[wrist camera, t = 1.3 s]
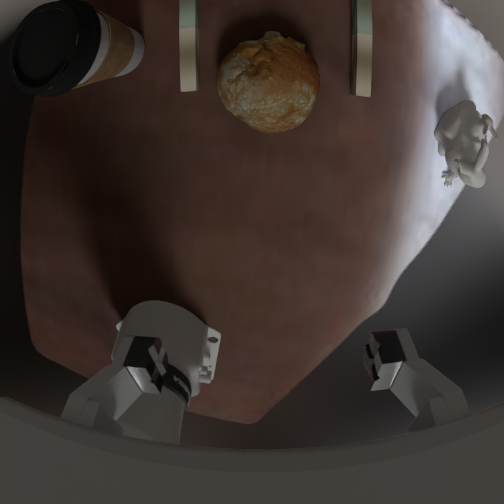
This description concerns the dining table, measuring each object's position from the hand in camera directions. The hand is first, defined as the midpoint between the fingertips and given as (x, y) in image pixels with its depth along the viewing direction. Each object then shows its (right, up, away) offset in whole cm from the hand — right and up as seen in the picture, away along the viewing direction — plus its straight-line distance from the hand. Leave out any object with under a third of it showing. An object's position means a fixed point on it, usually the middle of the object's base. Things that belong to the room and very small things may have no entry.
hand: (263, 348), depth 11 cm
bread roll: (+2, +23, +16) cm, 28 cm away
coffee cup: (-15, +26, +14) cm, 33 cm away
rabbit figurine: (+23, +18, +18) cm, 35 cm away
